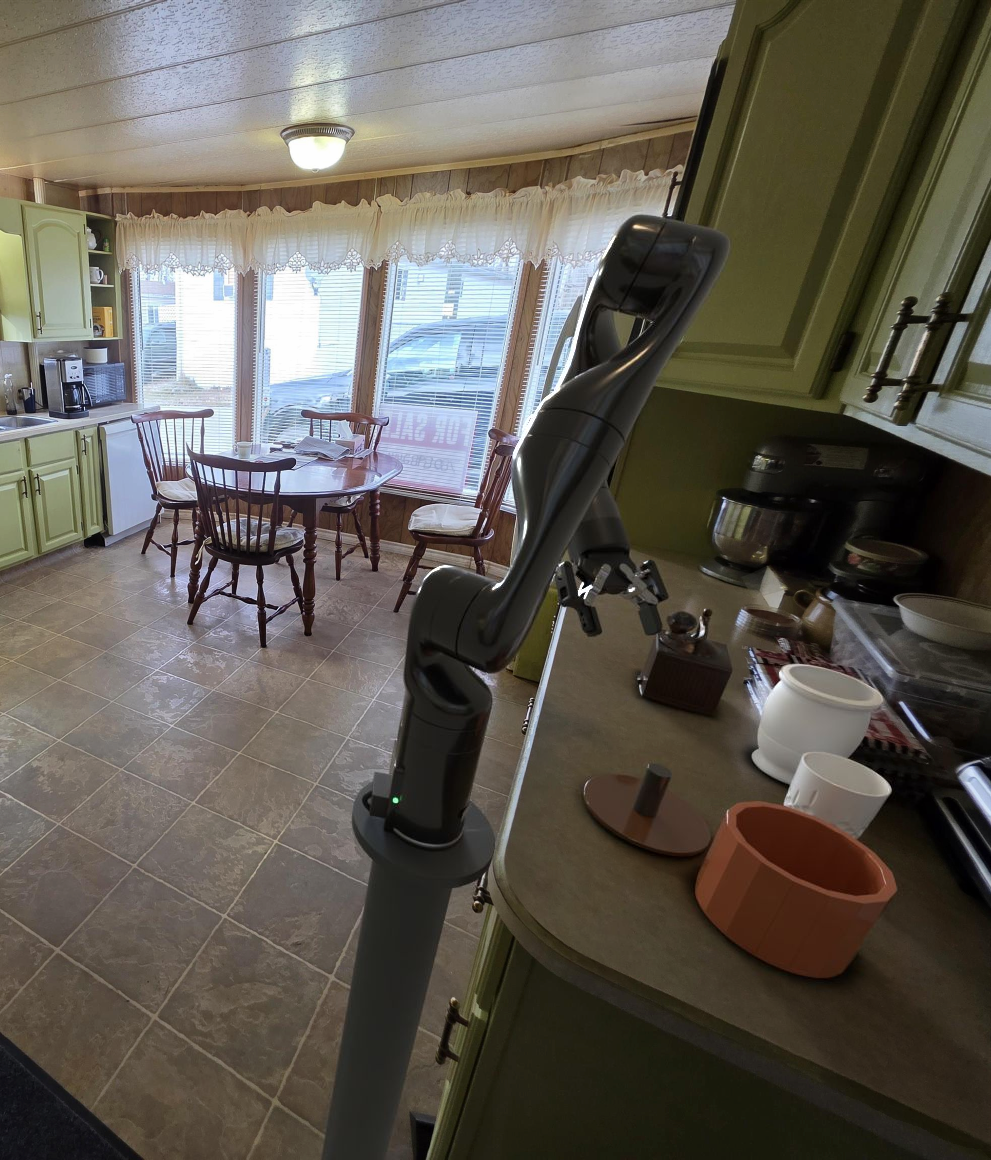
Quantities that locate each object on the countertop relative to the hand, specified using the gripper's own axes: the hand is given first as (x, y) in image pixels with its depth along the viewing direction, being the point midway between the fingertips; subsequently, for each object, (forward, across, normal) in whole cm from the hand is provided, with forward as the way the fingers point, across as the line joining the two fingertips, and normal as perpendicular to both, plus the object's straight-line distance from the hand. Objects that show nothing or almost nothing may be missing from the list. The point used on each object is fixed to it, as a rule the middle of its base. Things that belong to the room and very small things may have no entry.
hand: (624, 634), depth 82 cm
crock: (+33, +2, -4) cm, 34 cm away
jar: (+18, +28, +12) cm, 36 cm away
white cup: (+26, +20, +3) cm, 33 cm away
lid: (+22, 0, +6) cm, 23 cm away
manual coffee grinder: (+5, +26, +24) cm, 36 cm away
